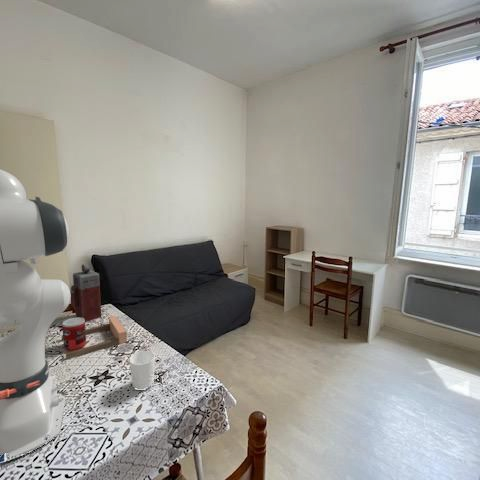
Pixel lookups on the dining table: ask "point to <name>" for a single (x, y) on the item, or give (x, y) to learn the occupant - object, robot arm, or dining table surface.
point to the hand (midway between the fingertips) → (17, 268)
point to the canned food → (74, 333)
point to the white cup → (142, 369)
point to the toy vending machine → (86, 294)
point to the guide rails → (93, 347)
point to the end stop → (118, 329)
